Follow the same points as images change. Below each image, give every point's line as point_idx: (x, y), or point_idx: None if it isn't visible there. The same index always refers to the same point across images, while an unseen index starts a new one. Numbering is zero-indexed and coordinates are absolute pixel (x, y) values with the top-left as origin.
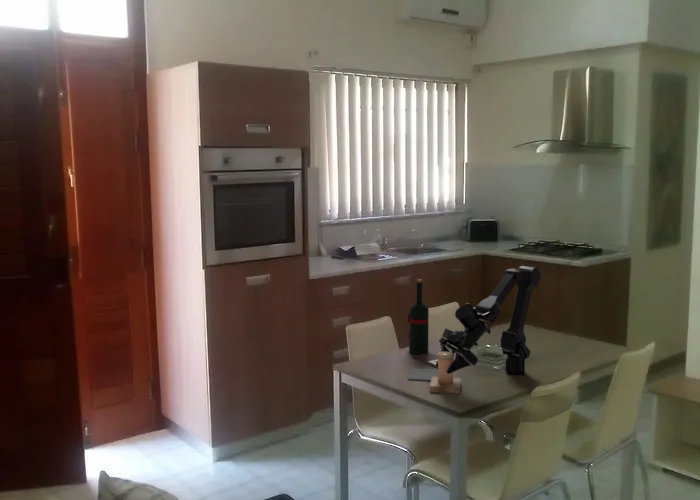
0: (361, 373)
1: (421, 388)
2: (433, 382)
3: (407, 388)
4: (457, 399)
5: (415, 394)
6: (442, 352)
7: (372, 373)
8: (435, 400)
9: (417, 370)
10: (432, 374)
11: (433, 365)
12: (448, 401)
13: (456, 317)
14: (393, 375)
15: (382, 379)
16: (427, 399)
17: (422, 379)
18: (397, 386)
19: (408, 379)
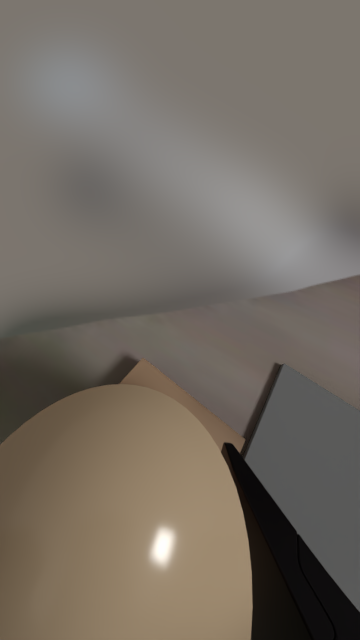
0: (349, 288)
1: (187, 359)
2: (170, 395)
3: (204, 323)
4: (14, 413)
5: (150, 316)
6: (196, 529)
7: (350, 308)
8: (72, 337)
9: None
10: (330, 508)
11: None
12: (32, 368)
13: None
14: (332, 348)
15: (295, 306)
16: (96, 322)
17: (265, 409)
18: (229, 310)
19: (281, 366)
